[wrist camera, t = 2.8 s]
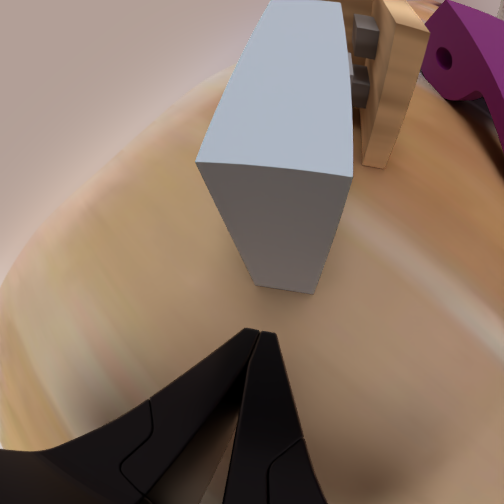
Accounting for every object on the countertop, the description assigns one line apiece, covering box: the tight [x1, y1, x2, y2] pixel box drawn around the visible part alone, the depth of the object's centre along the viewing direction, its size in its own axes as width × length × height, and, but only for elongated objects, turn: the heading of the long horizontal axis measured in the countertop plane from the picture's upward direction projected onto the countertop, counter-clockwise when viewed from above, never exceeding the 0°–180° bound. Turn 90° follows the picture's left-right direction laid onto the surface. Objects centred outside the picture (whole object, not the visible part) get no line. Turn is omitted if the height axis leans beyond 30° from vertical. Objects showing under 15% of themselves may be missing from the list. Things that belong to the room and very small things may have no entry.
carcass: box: [321, 0, 430, 169], centre depth 13 cm, size 9×7×10 cm
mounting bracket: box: [421, 0, 504, 153], centre depth 15 cm, size 9×8×18 cm
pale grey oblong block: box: [195, 0, 353, 294], centre depth 11 cm, size 10×5×10 cm, turn 169°
